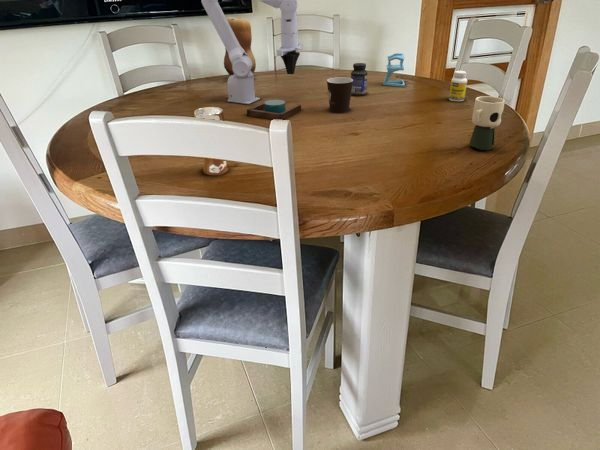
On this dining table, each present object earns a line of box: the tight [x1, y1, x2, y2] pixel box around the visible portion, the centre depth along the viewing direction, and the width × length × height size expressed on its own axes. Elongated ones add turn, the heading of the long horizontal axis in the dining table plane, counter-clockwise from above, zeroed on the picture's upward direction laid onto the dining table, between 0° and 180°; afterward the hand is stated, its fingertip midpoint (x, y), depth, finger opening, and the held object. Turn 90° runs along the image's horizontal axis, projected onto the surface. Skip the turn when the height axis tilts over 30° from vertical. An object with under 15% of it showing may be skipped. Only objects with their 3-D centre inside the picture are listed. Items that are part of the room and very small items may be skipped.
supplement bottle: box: [448, 70, 468, 103], centre depth 163 cm, size 5×5×10 cm
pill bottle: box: [350, 62, 368, 97], centre depth 172 cm, size 6×6×11 cm
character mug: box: [468, 95, 506, 151], centre depth 120 cm, size 11×7×13 cm, turn 130°
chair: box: [382, 52, 406, 88], centre depth 184 cm, size 8×8×12 cm
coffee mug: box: [326, 76, 353, 114], centre depth 156 cm, size 12×9×10 cm
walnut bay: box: [246, 99, 302, 121], centre depth 155 cm, size 13×13×2 cm
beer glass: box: [193, 106, 229, 176], centre depth 110 cm, size 7×7×15 cm
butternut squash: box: [223, 16, 257, 77], centre depth 194 cm, size 14×13×25 cm
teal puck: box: [264, 99, 287, 113], centre depth 155 cm, size 7×7×4 cm
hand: (290, 73), depth 165 cm, fingers closed
